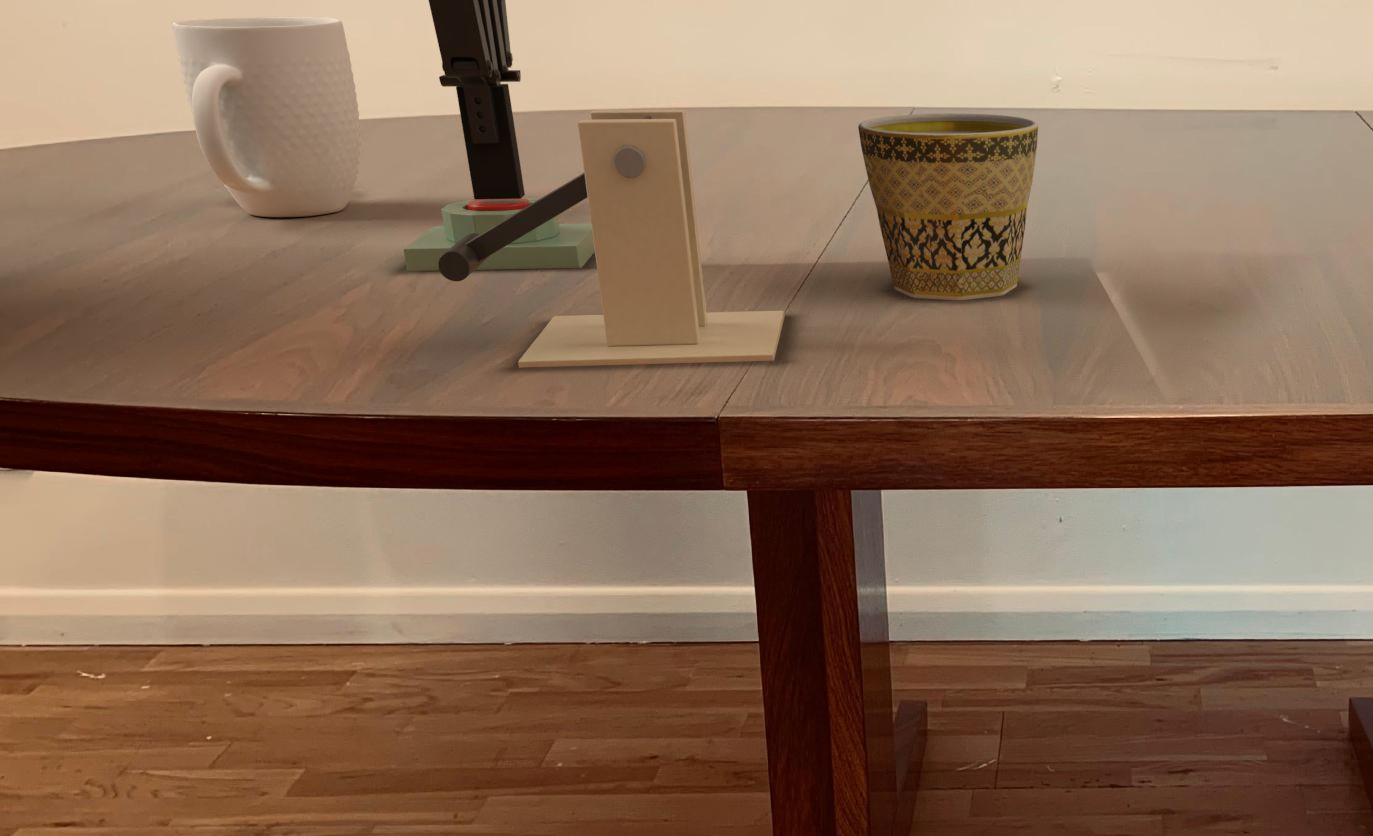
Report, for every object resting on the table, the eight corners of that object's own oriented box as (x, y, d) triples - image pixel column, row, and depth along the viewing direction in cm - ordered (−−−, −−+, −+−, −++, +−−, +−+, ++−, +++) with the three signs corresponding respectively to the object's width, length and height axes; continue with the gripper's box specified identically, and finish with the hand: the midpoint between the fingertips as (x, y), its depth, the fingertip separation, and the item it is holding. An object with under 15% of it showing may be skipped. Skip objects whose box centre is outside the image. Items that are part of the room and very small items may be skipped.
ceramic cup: (1011, 326, 96) (1005, 137, 92) (842, 315, 98) (829, 130, 94) (1077, 281, 107) (1074, 111, 103) (925, 272, 109) (916, 105, 105)
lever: (457, 295, 84) (424, 251, 83) (479, 275, 88) (448, 233, 87) (670, 169, 83) (640, 123, 82) (681, 155, 87) (653, 111, 86)
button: (466, 236, 106) (461, 206, 105) (478, 226, 109) (474, 197, 108) (527, 235, 106) (523, 205, 105) (538, 225, 109) (534, 196, 109)
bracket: (521, 386, 83) (481, 129, 78) (556, 338, 92) (523, 105, 87) (775, 378, 85) (752, 126, 80) (786, 332, 94) (766, 103, 89)
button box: (409, 286, 104) (397, 217, 103) (440, 260, 111) (429, 196, 110) (581, 282, 106) (572, 215, 104) (601, 257, 113) (592, 194, 111)
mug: (306, 234, 120) (265, 31, 114) (151, 232, 120) (102, 29, 114) (403, 200, 133) (370, 17, 127) (262, 198, 133) (224, 15, 128)
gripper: (476, -247, 91) (544, 213, 101) (522, -231, 103) (579, 180, 113) (326, -249, 90) (409, 216, 100) (390, -233, 102) (459, 182, 112)
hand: (499, 196), depth 107 cm, fingers closed
